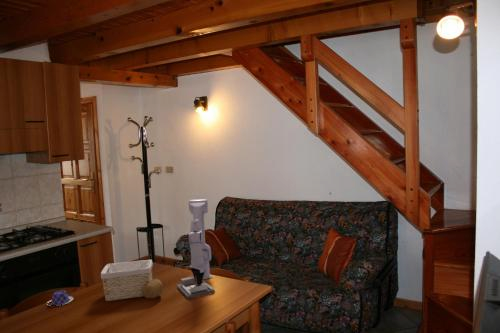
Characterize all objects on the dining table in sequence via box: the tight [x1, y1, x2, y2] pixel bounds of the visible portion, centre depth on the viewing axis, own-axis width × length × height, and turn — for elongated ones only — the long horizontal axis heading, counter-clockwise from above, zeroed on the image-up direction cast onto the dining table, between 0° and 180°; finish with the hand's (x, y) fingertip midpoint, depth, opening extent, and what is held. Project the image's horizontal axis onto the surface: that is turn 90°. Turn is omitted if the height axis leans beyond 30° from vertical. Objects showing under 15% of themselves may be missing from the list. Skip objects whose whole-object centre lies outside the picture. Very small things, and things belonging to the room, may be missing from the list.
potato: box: [142, 278, 164, 299], centre depth 197 cm, size 10×14×8 cm
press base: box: [176, 275, 216, 300], centre depth 203 cm, size 18×14×4 cm
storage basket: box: [100, 259, 154, 302], centre depth 202 cm, size 24×16×15 cm
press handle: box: [190, 276, 209, 293], centre depth 197 cm, size 3×8×8 cm, turn 116°
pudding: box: [46, 289, 74, 307], centre depth 197 cm, size 12×12×5 cm
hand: (198, 282), depth 197 cm, fingers closed on press handle, 3 cm apart
